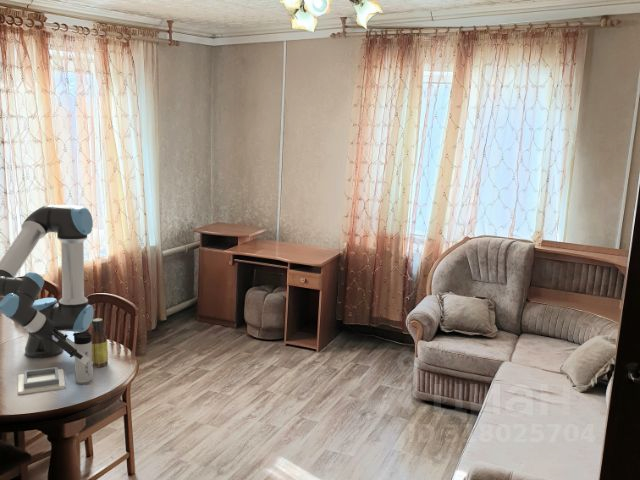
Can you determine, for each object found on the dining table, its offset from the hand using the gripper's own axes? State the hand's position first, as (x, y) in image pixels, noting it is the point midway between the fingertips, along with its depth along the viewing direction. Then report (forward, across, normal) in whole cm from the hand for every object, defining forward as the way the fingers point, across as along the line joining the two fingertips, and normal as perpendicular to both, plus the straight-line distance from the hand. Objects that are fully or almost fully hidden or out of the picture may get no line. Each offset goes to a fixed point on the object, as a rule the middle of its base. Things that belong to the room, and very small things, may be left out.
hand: (82, 355), depth 231 cm
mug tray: (-2, -8, -18) cm, 19 cm away
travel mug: (+8, -1, -8) cm, 11 cm away
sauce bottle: (+15, -13, -1) cm, 20 cm away
